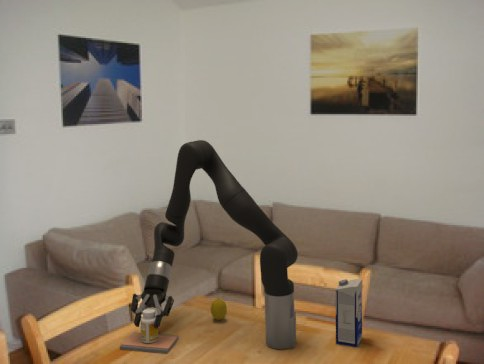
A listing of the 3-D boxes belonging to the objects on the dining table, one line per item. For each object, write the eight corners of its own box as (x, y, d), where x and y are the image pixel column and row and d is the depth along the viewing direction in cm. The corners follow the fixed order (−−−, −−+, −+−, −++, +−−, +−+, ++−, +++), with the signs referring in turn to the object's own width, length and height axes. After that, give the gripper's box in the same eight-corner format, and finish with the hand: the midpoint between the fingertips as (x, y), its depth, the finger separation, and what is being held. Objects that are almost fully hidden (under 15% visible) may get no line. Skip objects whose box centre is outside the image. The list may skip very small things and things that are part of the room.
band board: (178, 338, 180) (178, 335, 180) (167, 353, 170) (167, 350, 170) (133, 335, 184) (133, 331, 184) (119, 349, 174) (119, 345, 174)
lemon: (209, 318, 195) (208, 296, 193) (224, 315, 196) (223, 294, 195) (213, 324, 189) (212, 302, 188) (229, 322, 191) (228, 300, 190)
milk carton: (357, 347, 169) (357, 285, 166) (335, 344, 172) (335, 283, 169) (362, 337, 176) (362, 278, 172) (341, 334, 179) (341, 275, 175)
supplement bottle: (160, 336, 179) (159, 307, 178) (155, 343, 174) (155, 314, 173) (143, 336, 180) (143, 307, 178) (139, 343, 175) (138, 313, 173)
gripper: (134, 271, 182) (120, 321, 173) (175, 274, 179) (163, 324, 169) (142, 281, 188) (129, 329, 179) (182, 283, 185) (171, 332, 175)
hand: (146, 326), depth 174 cm, fingers open, 6 cm apart
